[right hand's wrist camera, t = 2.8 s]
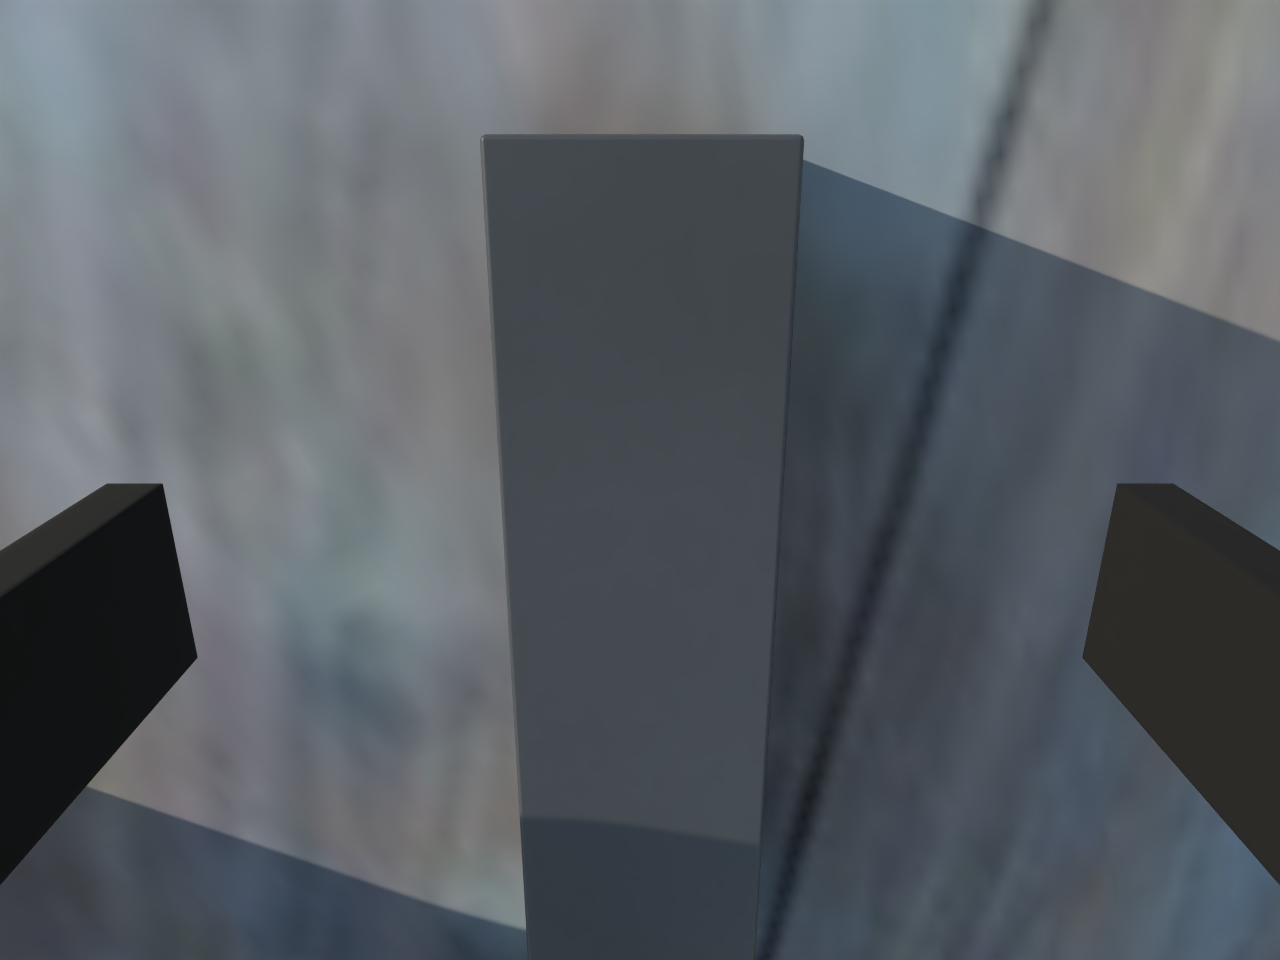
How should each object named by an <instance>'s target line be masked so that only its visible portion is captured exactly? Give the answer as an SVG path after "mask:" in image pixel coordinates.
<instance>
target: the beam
mask: <svg viewBox="0 0 1280 960" xmlns="http://www.w3.org/2000/svg"><path fill="white" fill-rule="evenodd" d="M480 147H481V164H482V181H483V198H484V215H485V232H486V249H487V266H488V283H489V300H490V317H491V334H492V351H493V368H494V385H495V402H496V419H497V436H498V453H499V470H500V487H501V504H502V521H503V539H504V556H505V573H506V590H507V607H508V624H509V641H510V658H511V675H512V692H513V709H514V726H515V743H516V760H517V777H518V794H519V811H520V828H521V845H522V862H523V879H524V896H525V913H526V930H527V947H528V960H755V947H756V930H757V914H758V897H759V880H760V864H761V847H762V831H763V814H764V797H765V781H766V764H767V748H768V731H769V715H770V698H771V681H772V665H773V648H774V632H775V615H776V598H777V582H778V565H779V549H780V532H781V515H782V499H783V482H784V466H785V449H786V433H787V416H788V399H789V383H790V366H791V350H792V333H793V316H794V300H795V283H796V267H797V250H798V233H799V217H800V200H801V184H802V167H803V151H804V139H803V136H801V135H483V136H481V139H480Z"/></svg>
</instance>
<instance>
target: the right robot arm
mask: <svg viewBox="0 0 1280 960" xmlns="http://www.w3.org/2000/svg"><path fill="white" fill-rule="evenodd" d="M197 658H198V657H197V652H196V647H195V642H194V638H193V633H192V628H191V623H190V618H189V613H188V608H187V603H186V598H185V593H184V588H183V583H182V578H181V573H180V568H179V563H178V558H177V553H176V548H175V543H174V538H173V533H172V528H171V523H170V518H169V513H168V508H167V503H166V498H165V493H164V488H163V484H106V485H104V486H102V487H101V488H99V489H98V490H96V491H94V492H93V493H91V494H90V495H88V496H87V497H85V498H83V499H82V500H80V501H79V502H77V503H75V504H74V505H72V506H71V507H69V508H68V509H66V510H64V511H63V512H61V513H60V514H58V515H56V516H55V517H53V518H52V519H50V520H48V521H47V522H45V523H44V524H42V525H41V526H39V527H37V528H36V529H34V530H33V531H31V532H29V533H28V534H26V535H25V536H23V537H22V538H20V539H18V540H17V541H15V542H14V543H12V544H10V545H9V546H7V547H6V548H4V549H3V550H1V551H0V885H1V883H2V882H3V881H4V880H5V879H6V878H7V877H8V875H9V874H10V873H11V872H12V871H13V870H14V869H15V867H16V866H17V865H18V864H19V863H20V862H21V860H22V859H23V858H24V857H25V856H26V855H27V854H28V852H29V851H30V850H31V849H32V848H33V847H34V845H35V844H36V843H37V842H38V841H39V840H40V839H41V837H42V836H43V835H44V834H45V833H46V832H47V830H48V829H49V828H50V827H51V826H52V825H53V824H54V822H55V821H56V820H57V819H58V818H59V817H60V815H61V814H62V813H63V812H64V811H65V810H66V809H67V807H68V806H69V805H70V804H71V803H72V802H73V800H74V799H75V798H76V797H77V796H78V795H79V794H80V792H81V791H82V790H83V789H84V788H85V787H86V786H87V784H88V783H89V782H90V781H91V780H92V779H93V777H94V776H95V775H96V774H97V773H98V772H99V771H100V769H101V768H102V767H103V766H104V765H105V764H106V762H107V761H108V760H109V759H110V758H111V757H112V756H113V754H114V753H115V752H116V751H117V750H118V749H119V747H120V746H121V745H122V744H123V743H124V742H125V741H126V739H127V738H128V737H129V736H130V735H131V734H132V732H133V731H134V730H135V729H136V728H137V727H138V726H139V724H140V723H141V722H142V721H143V720H144V719H145V717H146V716H147V715H148V714H149V713H150V712H151V711H152V709H153V708H154V707H155V706H156V705H157V704H158V703H159V701H160V700H161V699H162V698H163V697H164V696H165V694H166V693H167V692H168V691H169V690H170V689H171V688H172V686H173V685H174V684H175V683H176V682H177V681H178V679H179V678H180V677H181V676H182V675H183V674H184V673H185V671H186V670H187V669H188V668H189V667H190V666H191V664H192V663H193V662H194V661H195V660H196V659H197ZM1082 658H1083V659H1084V660H1085V661H1086V662H1087V663H1088V664H1089V666H1090V667H1091V668H1092V669H1093V670H1094V671H1095V673H1096V674H1097V675H1098V676H1099V677H1100V678H1101V679H1102V681H1103V682H1104V683H1105V684H1106V685H1107V686H1108V688H1109V689H1110V690H1111V691H1112V692H1113V693H1114V694H1115V696H1116V697H1117V698H1118V699H1119V700H1120V701H1121V703H1122V704H1123V705H1124V706H1125V707H1126V708H1127V709H1128V711H1129V712H1130V713H1131V714H1132V715H1133V716H1134V717H1135V719H1136V720H1137V721H1138V722H1139V723H1140V724H1141V726H1142V727H1143V728H1144V729H1145V730H1146V731H1147V732H1148V734H1149V735H1150V736H1151V737H1152V738H1153V739H1154V741H1155V742H1156V743H1157V744H1158V745H1159V746H1160V747H1161V749H1162V750H1163V751H1164V752H1165V753H1166V754H1167V756H1168V757H1169V758H1170V759H1171V760H1172V761H1173V762H1174V764H1175V765H1176V766H1177V767H1178V768H1179V769H1180V771H1181V772H1182V773H1183V774H1184V775H1185V776H1186V777H1187V779H1188V780H1189V781H1190V782H1191V783H1192V784H1193V786H1194V787H1195V788H1196V789H1197V790H1198V791H1199V792H1200V794H1201V795H1202V796H1203V797H1204V798H1205V799H1206V800H1207V802H1208V803H1209V804H1210V805H1211V806H1212V807H1213V809H1214V810H1215V811H1216V812H1217V813H1218V814H1219V815H1220V817H1221V818H1222V819H1223V820H1224V821H1225V822H1226V824H1227V825H1228V826H1229V827H1230V828H1231V829H1232V830H1233V832H1234V833H1235V834H1236V835H1237V836H1238V837H1239V839H1240V840H1241V841H1242V842H1243V843H1244V844H1245V845H1246V847H1247V848H1248V849H1249V850H1250V851H1251V852H1252V854H1253V855H1254V856H1255V857H1256V858H1257V859H1258V860H1259V862H1260V863H1261V864H1262V865H1263V866H1264V867H1265V869H1266V870H1267V871H1268V872H1269V873H1270V874H1271V875H1272V877H1273V878H1274V879H1275V880H1276V881H1277V882H1278V883H1279V885H1280V551H1279V550H1277V549H1276V548H1274V547H1273V546H1271V545H1270V544H1268V543H1266V542H1265V541H1263V540H1262V539H1260V538H1258V537H1257V536H1255V535H1254V534H1252V533H1251V532H1249V531H1247V530H1246V529H1244V528H1243V527H1241V526H1239V525H1238V524H1236V523H1235V522H1233V521H1232V520H1230V519H1228V518H1227V517H1225V516H1224V515H1222V514H1220V513H1219V512H1217V511H1216V510H1214V509H1212V508H1211V507H1209V506H1208V505H1206V504H1205V503H1203V502H1201V501H1200V500H1198V499H1197V498H1195V497H1193V496H1192V495H1190V494H1189V493H1187V492H1186V491H1184V490H1182V489H1181V488H1179V487H1178V486H1176V485H1174V484H1117V488H1116V493H1115V498H1114V503H1113V508H1112V513H1111V518H1110V523H1109V528H1108V533H1107V538H1106V543H1105V548H1104V553H1103V558H1102V563H1101V568H1100V573H1099V578H1098V583H1097V588H1096V593H1095V598H1094V603H1093V608H1092V613H1091V618H1090V623H1089V628H1088V633H1087V638H1086V642H1085V647H1084V652H1083V657H1082Z"/></svg>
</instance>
